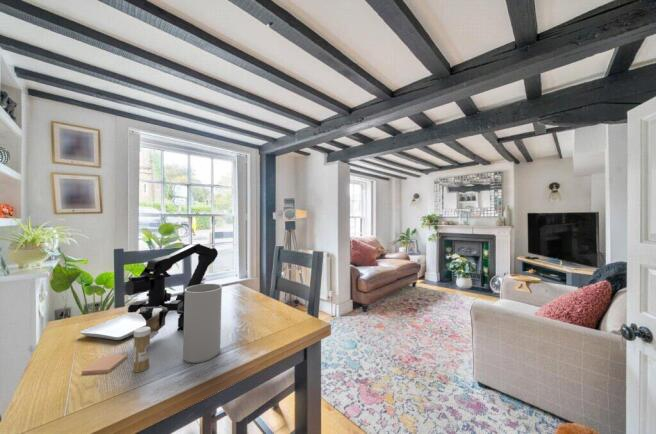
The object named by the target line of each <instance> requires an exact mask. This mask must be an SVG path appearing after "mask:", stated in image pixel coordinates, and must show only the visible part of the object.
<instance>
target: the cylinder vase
mask: <svg viewBox="0 0 656 434" xmlns="http://www.w3.org/2000/svg"><path fill="white" fill-rule="evenodd" d="M222 290H223V285H221V284H218V283H202V284H200V285H194V286H190V287H187V286H186V288H185V289H184V292H185V299H184V330H183V337H182V339H183V341H182V343H183V344H182V346H183V347H182V358H183V360H184V361H185V362H187V363H192V364H195V363H196V364H198V363H204V362H206V361H209V360H212V359H214V358H215V357H216V356H217V355H218V354H219V353H220V352H221V335H222V334H221V330H222V326H221V325H222Z"/></svg>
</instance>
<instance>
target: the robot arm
mask: <svg viewBox="0 0 656 434" xmlns="http://www.w3.org/2000/svg"><path fill="white" fill-rule="evenodd" d="M194 254H197V255H198V256H197V262H198V263H197V265H196V266H195V269H194V272H193V274H192V276H191V277H190V280H189V282H188V284H187V286H186V288H187V287H190V286H194V285H200V284H201V283H202V281H203V279H204V277H205V274H206V273H207V271H208V269H209V266H210V265H211V264H213V263H214V262H215V260H216V258H217V257H218V254H219V252H218V249H217V248H216V247H208V246H205V245H202V244H201V243H196V242H193V243H190V244H189V245H187V246H184V247H183V248H180V249H178V250H176V251H174V252H172V253H169V255H168V254H167V255H163V256H159V257H155V258H152V259H150V260H148V261H147V264H146V266H145V268H144V269H143V270H142V271H141V273H140V274H139V275H138V276H130V277H128V280H127V282H126V284H125V285H124V289H125V294H126V295H127V296H134V295H138V294H143V293H146V297H148V298H147V299H148V300H147V302H146V300H145V301H144V300H143V301H142V300H141V301H135V302H133V303H131V304H130V305H128V307H127V314H131V313H136V312H138V311H139V312H138V315H142V316H143V318H144V319H145V320H146V321H147V320H148V319H150V318H151V317H152V316H153V312H154V309H161V310H160V311H159V312H158V314H159V325H160V327H161V326H162V324H163V322H164V319H165V320H166V316H167V314H168V312H173V311H174V312H176V313H177V314H178V315H179V316H178V318H177V331H184V299H185V291H184V292H182V293H178V294H177V295H176V298H175V299H173V300H171V299H172V293H171V292H167V291H168V290H167V289H166V278H169V277H171V276H172V275H171V274H170V273H168V271H169V270H170V269H171V268H172V267H173V266H174V265H175V264H176V263H178V262H180V261H182V260H184V259H187V258H188V257H190V256H192V255H194ZM147 292H148V293H147Z"/></svg>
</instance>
